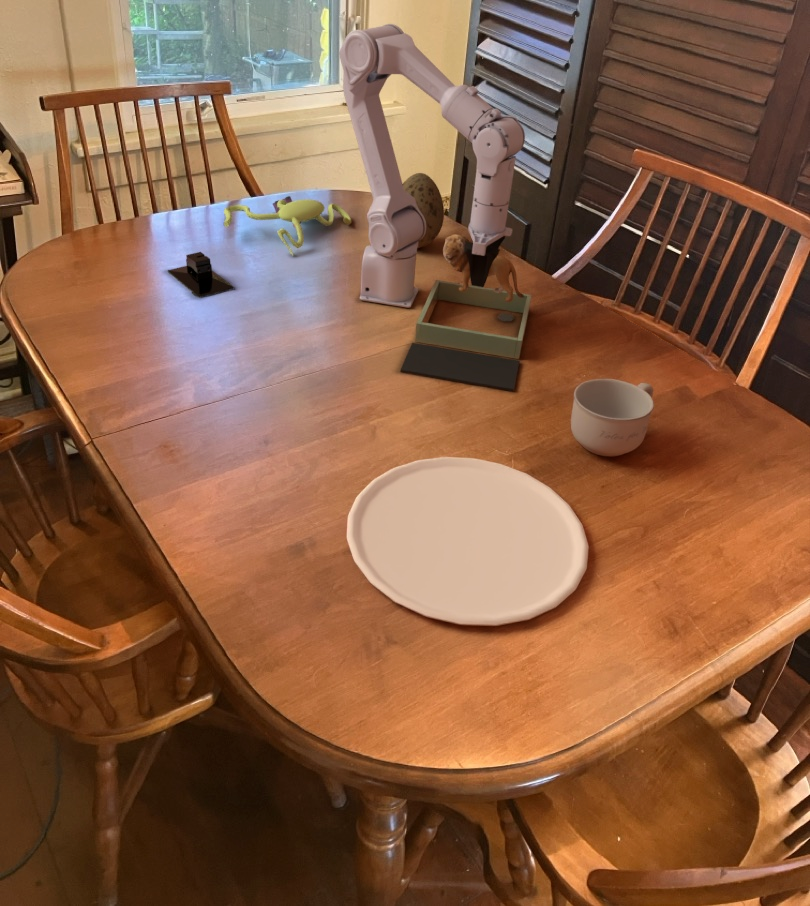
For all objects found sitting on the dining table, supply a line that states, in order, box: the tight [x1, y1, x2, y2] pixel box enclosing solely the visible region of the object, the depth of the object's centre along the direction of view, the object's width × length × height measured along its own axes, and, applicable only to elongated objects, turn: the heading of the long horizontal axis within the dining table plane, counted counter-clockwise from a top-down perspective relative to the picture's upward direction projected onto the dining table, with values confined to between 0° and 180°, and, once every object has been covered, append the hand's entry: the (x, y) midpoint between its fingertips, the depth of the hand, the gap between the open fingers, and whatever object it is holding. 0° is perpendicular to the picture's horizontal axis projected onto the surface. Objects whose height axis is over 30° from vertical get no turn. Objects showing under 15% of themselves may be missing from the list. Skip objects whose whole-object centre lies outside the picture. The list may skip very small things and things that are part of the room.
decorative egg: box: [394, 172, 445, 249], centre depth 162 cm, size 11×11×15 cm
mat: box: [399, 342, 521, 393], centre depth 129 cm, size 18×9×1 cm, turn 78°
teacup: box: [570, 378, 655, 457], centre depth 113 cm, size 14×11×8 cm
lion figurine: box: [442, 233, 524, 302], centre depth 133 cm, size 15×5×9 cm, turn 77°
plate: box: [346, 456, 590, 627], centre depth 97 cm, size 29×29×1 cm
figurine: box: [223, 195, 352, 257], centre depth 167 cm, size 18×27×6 cm
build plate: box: [167, 251, 235, 298], centre depth 146 cm, size 12×7×5 cm, turn 39°
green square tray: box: [414, 279, 533, 360], centre depth 139 cm, size 18×18×4 cm
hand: (480, 279), depth 135 cm, fingers closed on lion figurine, 4 cm apart
